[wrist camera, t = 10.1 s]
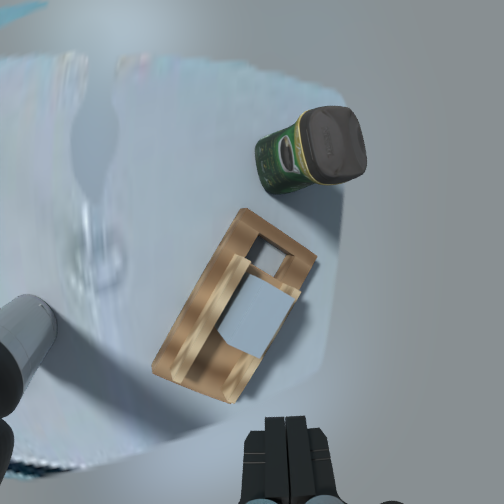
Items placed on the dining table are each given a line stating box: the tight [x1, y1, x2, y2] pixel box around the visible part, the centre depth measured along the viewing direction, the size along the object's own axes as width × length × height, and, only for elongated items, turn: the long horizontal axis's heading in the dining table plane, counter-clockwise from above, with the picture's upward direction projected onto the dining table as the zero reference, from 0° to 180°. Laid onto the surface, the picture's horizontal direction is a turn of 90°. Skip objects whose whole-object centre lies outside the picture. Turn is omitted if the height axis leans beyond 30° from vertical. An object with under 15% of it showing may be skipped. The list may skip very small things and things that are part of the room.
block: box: [214, 272, 295, 359], centre depth 42 cm, size 9×5×8 cm, turn 148°
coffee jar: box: [255, 106, 367, 194], centre depth 41 cm, size 10×8×19 cm
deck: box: [152, 208, 317, 404], centre depth 46 cm, size 28×14×7 cm, turn 148°
